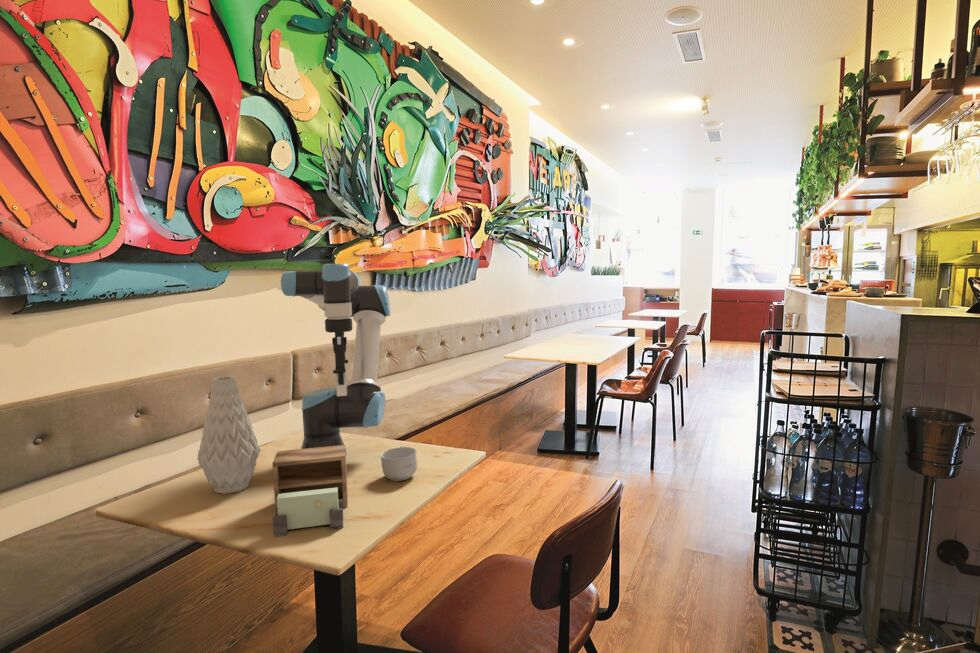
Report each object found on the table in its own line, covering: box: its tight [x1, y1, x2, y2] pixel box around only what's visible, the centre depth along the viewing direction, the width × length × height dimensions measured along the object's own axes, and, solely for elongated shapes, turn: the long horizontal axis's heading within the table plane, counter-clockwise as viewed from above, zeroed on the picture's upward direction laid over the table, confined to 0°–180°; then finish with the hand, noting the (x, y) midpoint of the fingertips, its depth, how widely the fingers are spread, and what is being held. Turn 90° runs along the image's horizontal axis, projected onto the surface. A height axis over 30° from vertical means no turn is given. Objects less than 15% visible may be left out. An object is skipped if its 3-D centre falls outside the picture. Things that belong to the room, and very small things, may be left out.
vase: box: [197, 376, 261, 495], centre depth 161 cm, size 17×17×33 cm
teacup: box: [380, 445, 418, 482], centre depth 170 cm, size 14×11×8 cm
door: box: [277, 487, 339, 531], centre depth 136 cm, size 4×14×8 cm, turn 104°
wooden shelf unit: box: [272, 444, 348, 537], centre depth 144 cm, size 22×18×14 cm
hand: (342, 390), depth 161 cm, fingers open, 13 cm apart
